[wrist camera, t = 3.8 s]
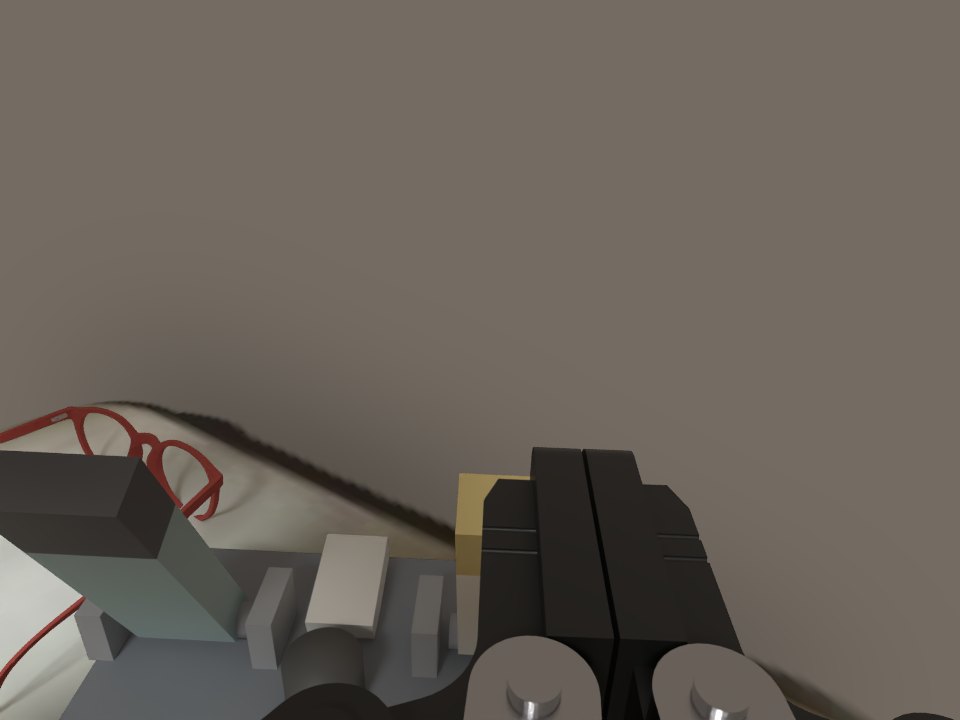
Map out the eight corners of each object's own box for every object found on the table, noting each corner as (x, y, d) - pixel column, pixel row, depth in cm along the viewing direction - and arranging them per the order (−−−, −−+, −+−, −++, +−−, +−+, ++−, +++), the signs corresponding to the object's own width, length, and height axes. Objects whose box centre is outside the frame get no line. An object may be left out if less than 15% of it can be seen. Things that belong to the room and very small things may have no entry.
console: (69, 823, 26) (15, 697, 23) (179, 618, 35) (152, 505, 32) (598, 852, 26) (624, 730, 23) (574, 639, 35) (590, 527, 32)
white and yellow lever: (448, 657, 28) (439, 533, 18) (451, 613, 29) (445, 472, 19) (565, 664, 28) (622, 542, 18) (563, 619, 29) (617, 480, 19)
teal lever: (135, 641, 28) (-49, 508, 18) (150, 597, 29) (-16, 449, 19) (250, 647, 28) (131, 517, 18) (261, 603, 29) (154, 457, 19)
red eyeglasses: (260, 534, 42) (251, 468, 39) (-16, 755, 29) (-54, 677, 27) (82, 448, 49) (65, 387, 47) (-201, 595, 36) (-243, 522, 34)
